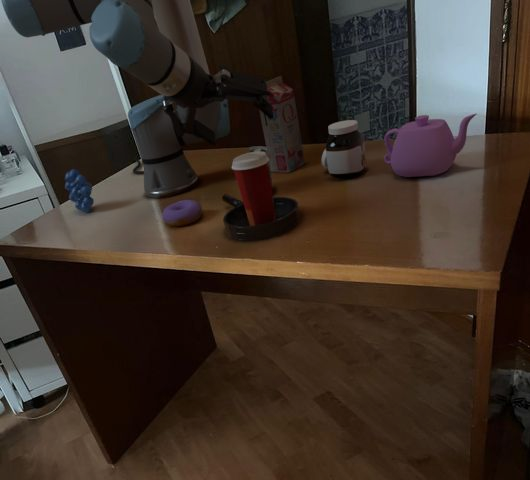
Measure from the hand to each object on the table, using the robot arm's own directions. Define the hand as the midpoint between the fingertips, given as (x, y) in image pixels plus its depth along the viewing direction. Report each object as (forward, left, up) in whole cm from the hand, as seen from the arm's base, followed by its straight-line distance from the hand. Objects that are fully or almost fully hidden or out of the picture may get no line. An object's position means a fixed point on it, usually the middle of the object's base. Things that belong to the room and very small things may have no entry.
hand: (241, 125), depth 106 cm
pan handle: (-9, -2, -19) cm, 22 cm away
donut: (-16, -13, -20) cm, 28 cm away
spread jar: (-8, +27, -20) cm, 34 cm away
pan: (+4, -2, -19) cm, 20 cm away
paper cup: (+4, -2, -19) cm, 20 cm away
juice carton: (-27, +22, -20) cm, 40 cm away
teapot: (+10, +38, -20) cm, 44 cm away
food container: (-14, +8, -20) cm, 25 cm away
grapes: (-51, -29, -20) cm, 61 cm away
